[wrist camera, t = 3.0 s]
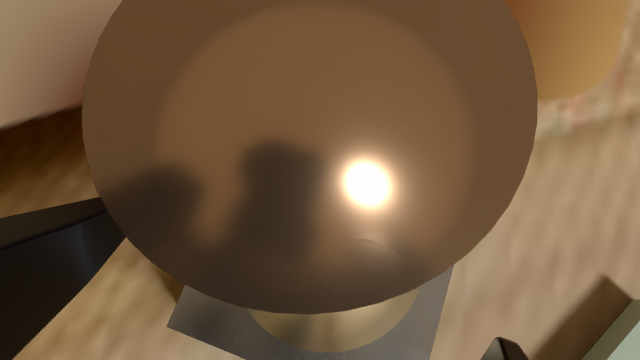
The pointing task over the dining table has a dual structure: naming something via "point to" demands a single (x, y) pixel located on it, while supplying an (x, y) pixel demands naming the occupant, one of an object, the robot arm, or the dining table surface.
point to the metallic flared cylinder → (309, 149)
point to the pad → (620, 337)
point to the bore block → (277, 356)
